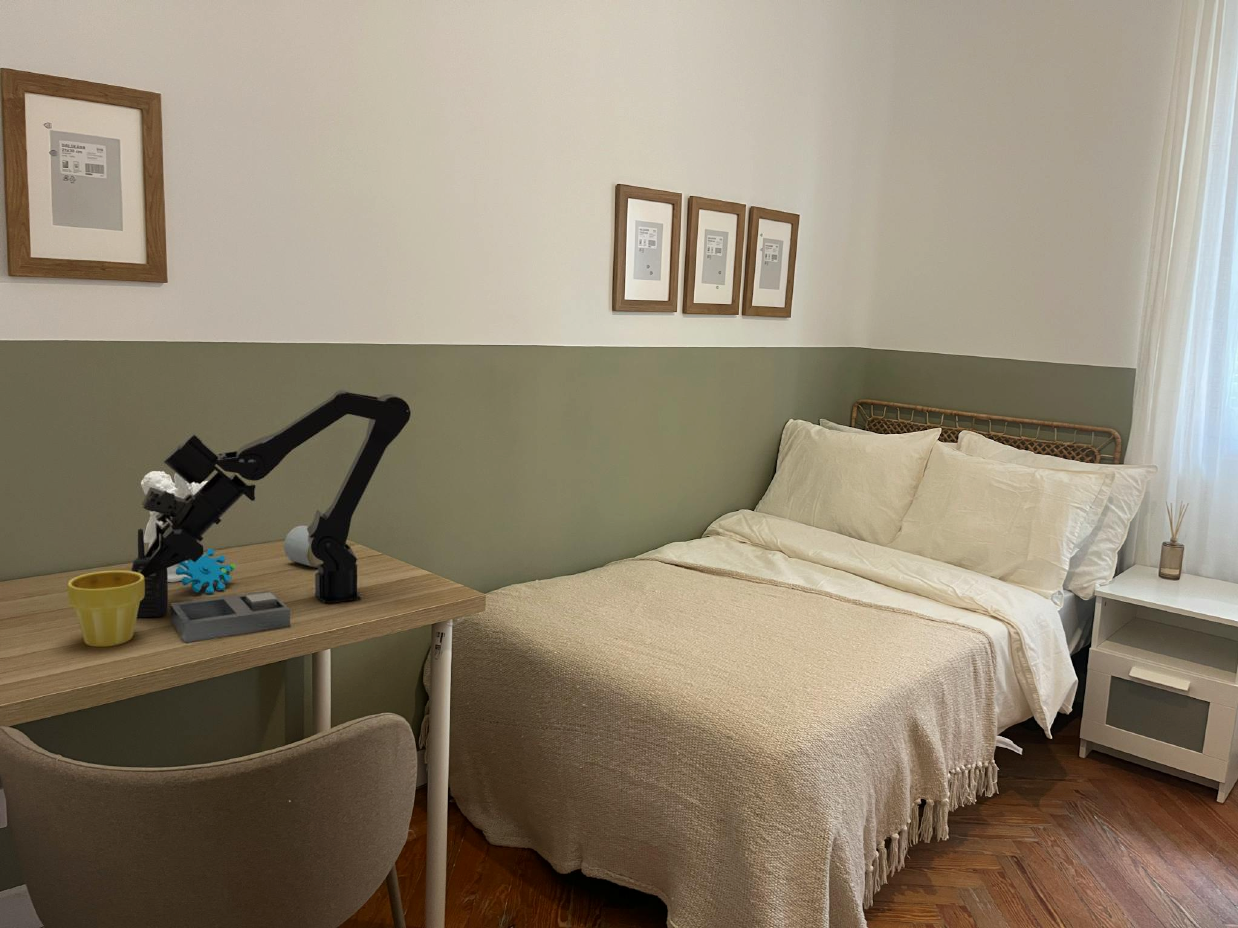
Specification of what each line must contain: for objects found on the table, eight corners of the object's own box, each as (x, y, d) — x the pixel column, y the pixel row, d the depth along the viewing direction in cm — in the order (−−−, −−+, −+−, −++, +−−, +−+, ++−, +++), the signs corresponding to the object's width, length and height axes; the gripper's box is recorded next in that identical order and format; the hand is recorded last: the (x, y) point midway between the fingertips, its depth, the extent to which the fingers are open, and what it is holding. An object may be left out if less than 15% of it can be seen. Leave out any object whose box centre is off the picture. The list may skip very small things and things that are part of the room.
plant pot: (135, 650, 141) (133, 587, 139) (60, 652, 139) (56, 589, 137) (154, 627, 151) (152, 569, 149) (84, 629, 149) (81, 570, 147)
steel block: (270, 614, 160) (270, 592, 159) (277, 621, 157) (276, 598, 156) (246, 618, 158) (245, 595, 157) (252, 625, 154) (251, 601, 154)
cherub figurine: (137, 575, 180) (131, 462, 177) (200, 564, 189) (196, 457, 186) (165, 587, 172) (159, 470, 169) (229, 575, 182) (226, 463, 179)
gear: (184, 591, 165) (172, 544, 170) (172, 608, 168) (160, 562, 173) (244, 588, 174) (231, 543, 178) (231, 605, 177) (219, 561, 181)
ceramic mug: (308, 571, 187) (309, 534, 186) (283, 564, 191) (283, 527, 190) (351, 562, 195) (351, 526, 194) (325, 555, 200) (325, 520, 199)
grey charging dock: (270, 606, 164) (269, 590, 163) (290, 626, 154) (289, 608, 154) (170, 620, 155) (170, 603, 154) (185, 642, 145) (184, 623, 144)
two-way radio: (130, 618, 155) (126, 530, 152) (138, 610, 159) (135, 524, 157) (166, 618, 156) (163, 530, 154) (173, 609, 160) (170, 524, 158)
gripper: (167, 462, 164) (98, 529, 160) (178, 480, 148) (102, 554, 144) (217, 504, 169) (151, 569, 165) (233, 525, 153) (160, 597, 149)
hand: (141, 571), depth 156 cm, fingers closed on two-way radio, 5 cm apart
